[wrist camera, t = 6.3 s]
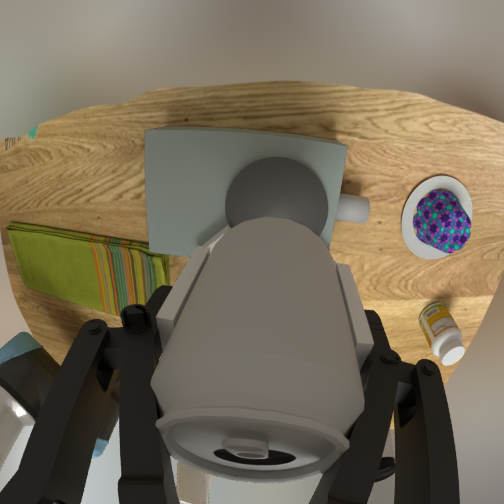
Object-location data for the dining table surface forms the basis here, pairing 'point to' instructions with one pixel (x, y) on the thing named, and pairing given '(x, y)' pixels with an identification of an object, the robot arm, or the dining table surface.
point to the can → (261, 360)
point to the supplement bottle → (442, 333)
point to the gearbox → (240, 184)
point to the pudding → (437, 218)
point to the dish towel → (87, 266)
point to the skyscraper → (192, 485)
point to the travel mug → (386, 461)
